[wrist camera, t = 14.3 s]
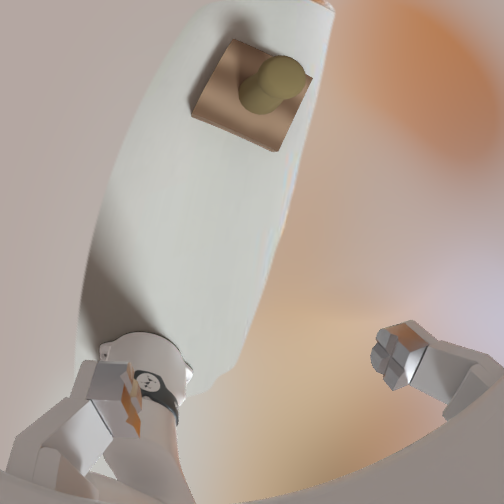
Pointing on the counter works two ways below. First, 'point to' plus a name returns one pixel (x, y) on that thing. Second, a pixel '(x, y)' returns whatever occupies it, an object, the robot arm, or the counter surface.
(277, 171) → the counter surface
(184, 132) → the counter surface
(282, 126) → the walnut base
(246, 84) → the olive pawn
